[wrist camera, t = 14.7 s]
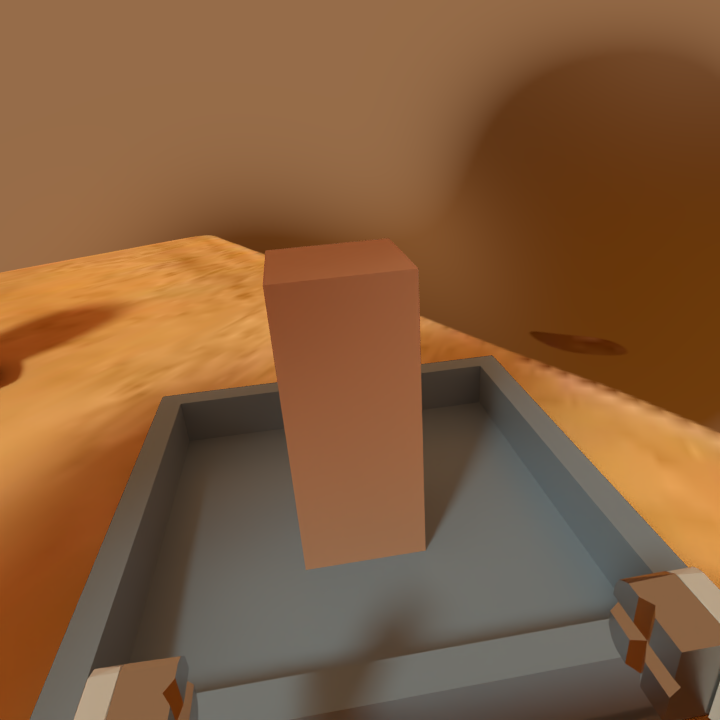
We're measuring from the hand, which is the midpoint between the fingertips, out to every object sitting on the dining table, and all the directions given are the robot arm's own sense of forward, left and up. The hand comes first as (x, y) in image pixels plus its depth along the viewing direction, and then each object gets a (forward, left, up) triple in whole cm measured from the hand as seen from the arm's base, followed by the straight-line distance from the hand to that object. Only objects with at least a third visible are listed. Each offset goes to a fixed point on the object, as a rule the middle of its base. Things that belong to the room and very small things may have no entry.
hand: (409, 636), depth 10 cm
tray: (0, +12, -9) cm, 15 cm away
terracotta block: (0, +12, -8) cm, 14 cm away
